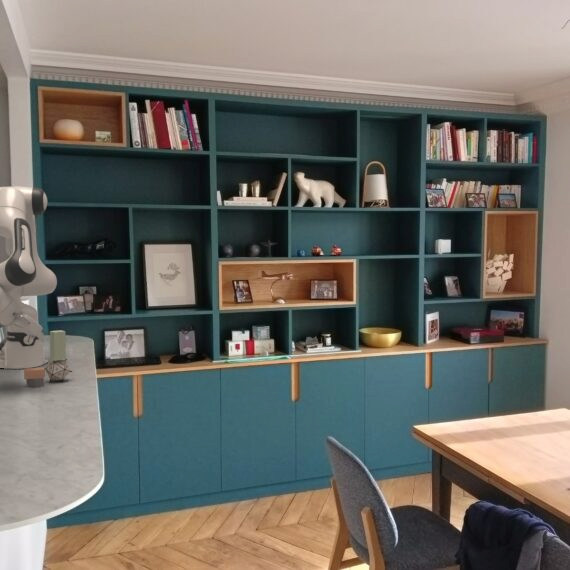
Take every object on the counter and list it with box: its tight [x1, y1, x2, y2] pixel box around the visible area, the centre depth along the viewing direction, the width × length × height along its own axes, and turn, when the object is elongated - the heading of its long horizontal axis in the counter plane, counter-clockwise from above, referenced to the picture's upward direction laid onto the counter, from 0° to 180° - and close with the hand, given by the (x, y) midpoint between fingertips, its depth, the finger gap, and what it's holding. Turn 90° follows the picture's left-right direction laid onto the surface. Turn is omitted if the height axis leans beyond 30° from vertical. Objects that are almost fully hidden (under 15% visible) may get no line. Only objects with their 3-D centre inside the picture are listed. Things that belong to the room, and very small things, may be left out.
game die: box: [44, 358, 73, 383], centre depth 205 cm, size 9×8×10 cm
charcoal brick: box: [25, 377, 45, 389], centre depth 198 cm, size 6×3×3 cm, turn 51°
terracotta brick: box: [23, 367, 46, 380], centre depth 198 cm, size 6×3×3 cm, turn 101°
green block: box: [49, 329, 67, 361], centre depth 204 cm, size 4×4×10 cm
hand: (39, 338), depth 199 cm, fingers open, 8 cm apart
